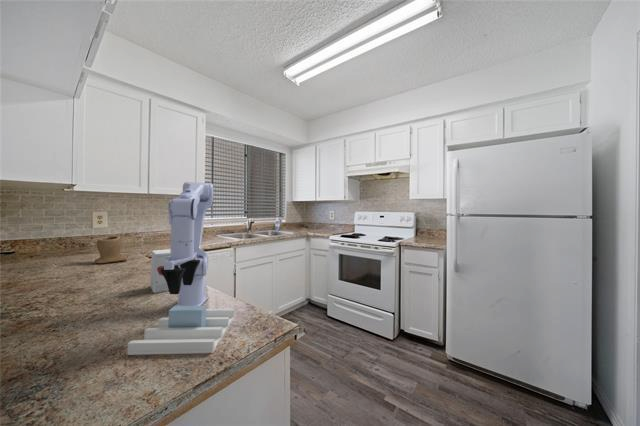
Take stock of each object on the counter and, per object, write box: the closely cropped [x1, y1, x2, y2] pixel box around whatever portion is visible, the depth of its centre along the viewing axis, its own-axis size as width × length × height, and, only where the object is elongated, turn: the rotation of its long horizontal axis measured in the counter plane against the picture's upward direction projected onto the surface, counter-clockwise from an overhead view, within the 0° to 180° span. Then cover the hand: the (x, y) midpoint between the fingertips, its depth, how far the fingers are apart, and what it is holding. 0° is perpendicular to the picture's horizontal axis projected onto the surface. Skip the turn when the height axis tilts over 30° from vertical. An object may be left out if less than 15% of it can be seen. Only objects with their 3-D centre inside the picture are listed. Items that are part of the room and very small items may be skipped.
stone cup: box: [93, 235, 129, 264], centre depth 138 cm, size 15×12×15 cm
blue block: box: [168, 305, 207, 328], centre depth 63 cm, size 3×8×6 cm, turn 95°
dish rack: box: [126, 308, 236, 356], centre depth 63 cm, size 18×18×2 cm
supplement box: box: [150, 248, 171, 294], centre depth 96 cm, size 9×9×15 cm
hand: (181, 289), depth 68 cm, fingers open, 7 cm apart
